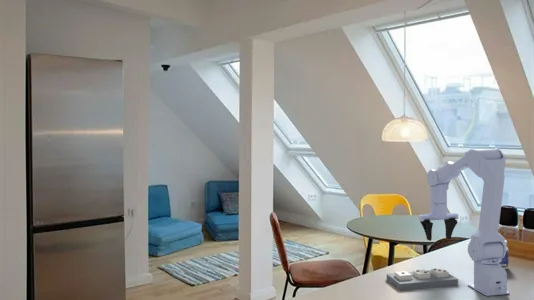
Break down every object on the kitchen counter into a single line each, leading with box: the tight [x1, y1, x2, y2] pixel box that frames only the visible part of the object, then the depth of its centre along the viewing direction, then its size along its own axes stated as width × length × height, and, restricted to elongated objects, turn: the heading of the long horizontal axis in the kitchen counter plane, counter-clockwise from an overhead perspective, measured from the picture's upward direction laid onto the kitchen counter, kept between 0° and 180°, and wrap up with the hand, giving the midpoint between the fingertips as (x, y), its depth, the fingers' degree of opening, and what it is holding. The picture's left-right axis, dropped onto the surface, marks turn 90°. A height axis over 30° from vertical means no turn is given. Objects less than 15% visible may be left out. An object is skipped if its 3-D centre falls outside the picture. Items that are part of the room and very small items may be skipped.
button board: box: [386, 269, 459, 291], centre depth 147 cm, size 10×20×2 cm, turn 99°
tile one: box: [394, 270, 412, 281], centre depth 146 cm, size 4×4×2 cm
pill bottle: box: [499, 239, 510, 270], centre depth 160 cm, size 6×6×10 cm
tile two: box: [412, 269, 430, 279], centre depth 147 cm, size 4×4×2 cm
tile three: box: [430, 267, 450, 278], centre depth 148 cm, size 4×4×2 cm
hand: (438, 239), depth 163 cm, fingers open, 7 cm apart
